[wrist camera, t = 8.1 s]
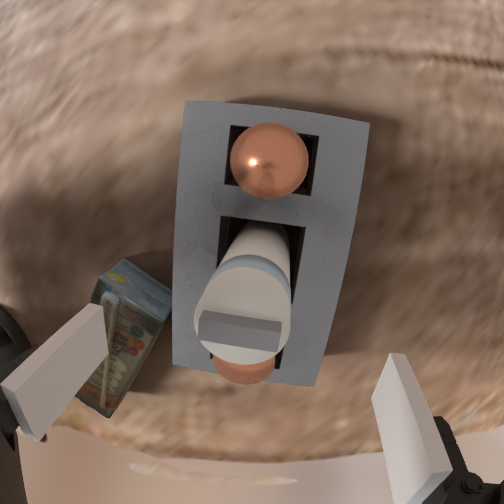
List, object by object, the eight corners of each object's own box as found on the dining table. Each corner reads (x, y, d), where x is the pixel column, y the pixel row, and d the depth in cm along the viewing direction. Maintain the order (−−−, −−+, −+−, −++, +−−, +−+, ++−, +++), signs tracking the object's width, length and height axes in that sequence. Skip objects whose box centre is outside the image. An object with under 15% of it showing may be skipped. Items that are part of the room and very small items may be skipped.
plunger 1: (240, 184, 28) (226, 194, 22) (247, 126, 27) (234, 118, 20) (298, 191, 28) (302, 204, 22) (306, 133, 26) (313, 128, 20)
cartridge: (233, 265, 31) (186, 366, 16) (238, 213, 30) (188, 280, 15) (285, 272, 31) (281, 382, 16) (293, 221, 30) (300, 297, 14)
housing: (186, 338, 35) (172, 364, 30) (201, 108, 27) (185, 100, 22) (311, 357, 34) (314, 386, 29) (356, 127, 26) (370, 123, 22)
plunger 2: (224, 338, 33) (211, 378, 27) (228, 294, 32) (214, 330, 25) (273, 346, 33) (269, 388, 27) (281, 302, 31) (279, 340, 25)
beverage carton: (186, 295, 33) (164, 327, 27) (127, 393, 39) (108, 424, 33) (124, 253, 33) (92, 276, 26) (80, 360, 39) (56, 388, 32)
